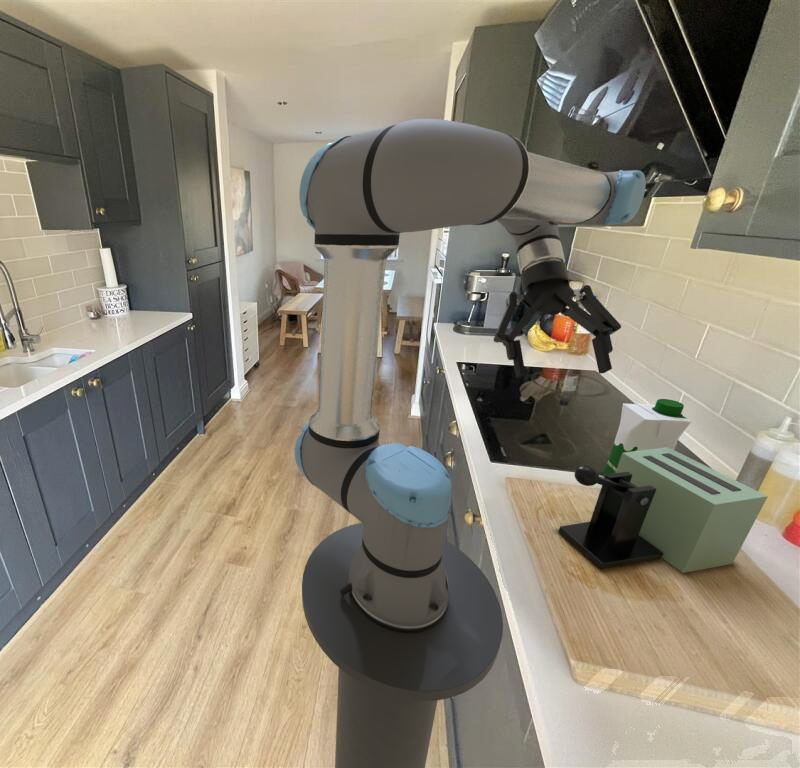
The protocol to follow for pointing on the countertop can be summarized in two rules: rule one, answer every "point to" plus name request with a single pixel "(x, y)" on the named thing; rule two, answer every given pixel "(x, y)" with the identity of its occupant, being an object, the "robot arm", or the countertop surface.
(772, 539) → the countertop surface
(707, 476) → the toaster
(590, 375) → the countertop surface
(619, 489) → the black lever handle
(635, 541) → the lever bracket
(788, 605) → the countertop surface
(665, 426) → the milk carton
